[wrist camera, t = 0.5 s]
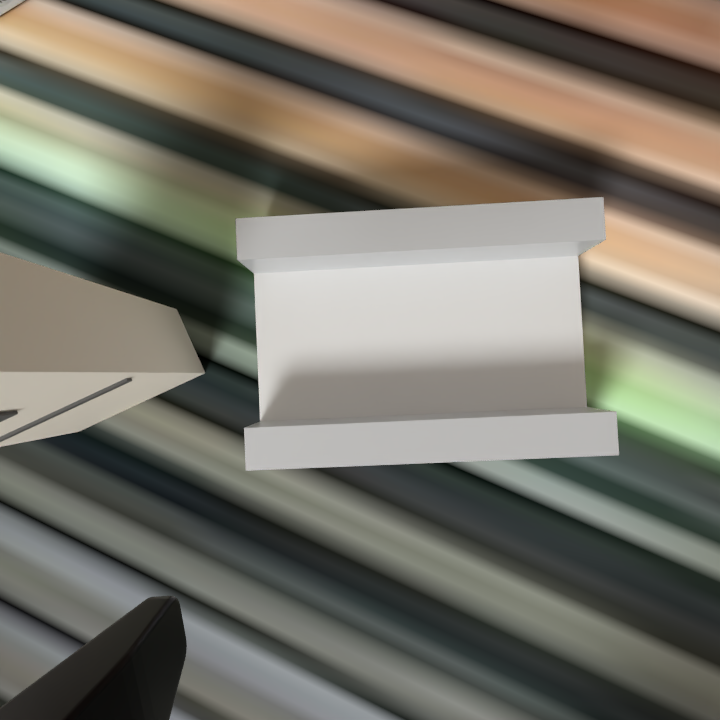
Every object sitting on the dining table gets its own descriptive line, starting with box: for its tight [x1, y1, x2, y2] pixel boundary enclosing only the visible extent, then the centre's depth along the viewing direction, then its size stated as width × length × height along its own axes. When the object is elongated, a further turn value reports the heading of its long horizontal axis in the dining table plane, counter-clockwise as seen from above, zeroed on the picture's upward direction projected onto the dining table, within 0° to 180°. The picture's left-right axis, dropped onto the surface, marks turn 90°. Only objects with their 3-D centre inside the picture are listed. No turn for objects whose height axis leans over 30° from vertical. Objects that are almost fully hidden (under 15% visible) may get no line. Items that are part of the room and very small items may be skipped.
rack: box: [236, 197, 619, 471], centre depth 20 cm, size 13×9×4 cm
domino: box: [0, 253, 205, 447], centre depth 16 cm, size 6×3×12 cm, turn 115°
